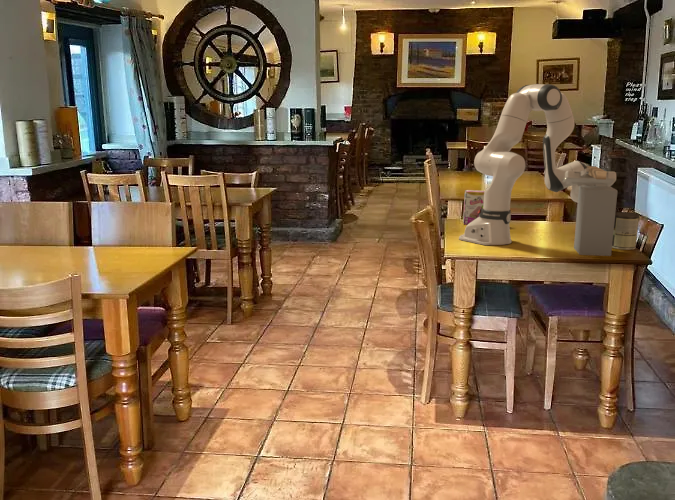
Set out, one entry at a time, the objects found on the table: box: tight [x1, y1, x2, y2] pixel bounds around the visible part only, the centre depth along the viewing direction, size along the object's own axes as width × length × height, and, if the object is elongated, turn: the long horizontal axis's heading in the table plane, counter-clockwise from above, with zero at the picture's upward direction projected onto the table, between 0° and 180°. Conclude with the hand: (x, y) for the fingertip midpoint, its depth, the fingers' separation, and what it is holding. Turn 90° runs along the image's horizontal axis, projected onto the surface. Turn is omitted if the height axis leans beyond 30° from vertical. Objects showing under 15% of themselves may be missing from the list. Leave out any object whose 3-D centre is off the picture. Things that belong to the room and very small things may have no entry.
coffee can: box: [612, 211, 640, 251], centre depth 278 cm, size 10×10×14 cm
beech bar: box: [586, 165, 607, 179], centre depth 269 cm, size 19×4×3 cm, turn 171°
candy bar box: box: [462, 189, 485, 226], centre depth 325 cm, size 11×5×16 cm, turn 84°
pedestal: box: [573, 186, 618, 257], centre depth 268 cm, size 12×12×26 cm
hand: (593, 170), depth 273 cm, fingers closed on beech bar, 3 cm apart
